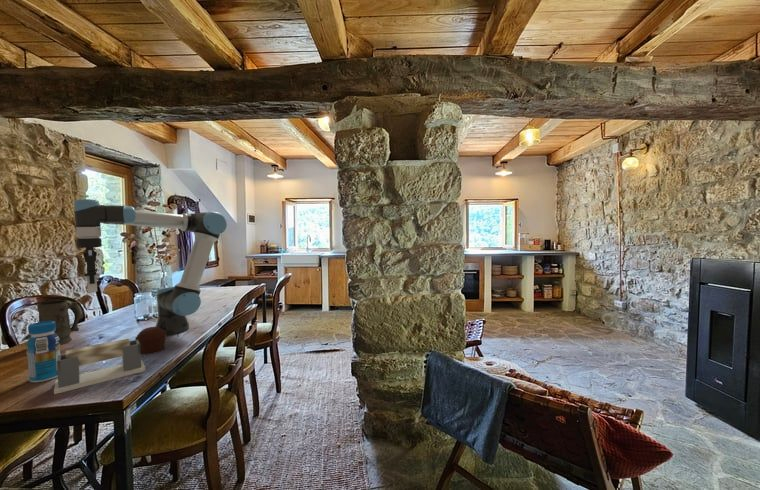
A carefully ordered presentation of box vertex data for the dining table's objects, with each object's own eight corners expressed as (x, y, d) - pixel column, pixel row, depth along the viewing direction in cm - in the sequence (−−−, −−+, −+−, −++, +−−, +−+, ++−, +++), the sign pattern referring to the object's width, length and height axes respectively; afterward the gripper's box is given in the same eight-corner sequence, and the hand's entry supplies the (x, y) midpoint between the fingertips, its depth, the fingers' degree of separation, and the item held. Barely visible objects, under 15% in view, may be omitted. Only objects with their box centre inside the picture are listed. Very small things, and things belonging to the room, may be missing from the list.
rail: (129, 351, 122) (128, 338, 121) (130, 354, 119) (129, 341, 118) (67, 364, 110) (66, 350, 110) (66, 368, 107) (65, 354, 107)
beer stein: (48, 348, 144) (49, 304, 144) (30, 347, 146) (30, 303, 146) (86, 339, 159) (86, 298, 159) (69, 337, 161) (69, 298, 161)
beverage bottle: (21, 383, 111) (16, 327, 110) (46, 372, 119) (42, 320, 118) (45, 383, 111) (41, 326, 110) (69, 372, 119) (65, 319, 118)
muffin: (132, 351, 139) (131, 329, 138) (161, 343, 148) (160, 322, 147) (141, 357, 132) (140, 334, 131) (171, 349, 141) (170, 327, 140)
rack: (142, 362, 127) (140, 337, 126) (145, 370, 119) (143, 344, 119) (56, 383, 111) (54, 355, 110) (54, 394, 103) (51, 363, 103)
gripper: (76, 237, 136) (80, 287, 137) (75, 238, 117) (79, 295, 119) (100, 237, 141) (103, 284, 142) (102, 237, 122) (106, 292, 124)
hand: (92, 289), depth 130 cm, fingers open, 13 cm apart
